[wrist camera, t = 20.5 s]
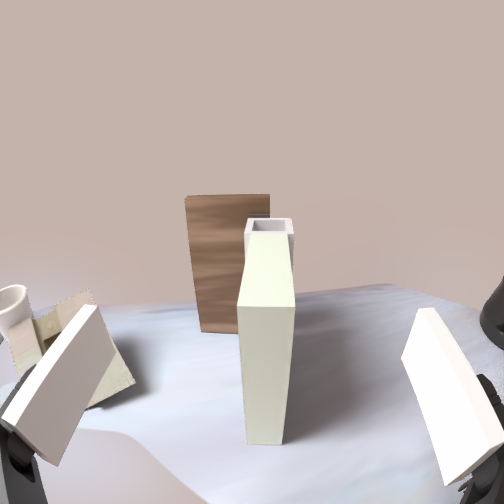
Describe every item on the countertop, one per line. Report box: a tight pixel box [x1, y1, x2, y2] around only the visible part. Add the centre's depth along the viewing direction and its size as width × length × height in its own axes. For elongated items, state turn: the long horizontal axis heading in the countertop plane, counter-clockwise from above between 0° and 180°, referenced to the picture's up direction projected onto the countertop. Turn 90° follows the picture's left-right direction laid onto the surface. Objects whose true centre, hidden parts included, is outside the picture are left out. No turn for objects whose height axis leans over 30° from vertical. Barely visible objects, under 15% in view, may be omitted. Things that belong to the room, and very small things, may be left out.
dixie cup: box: [0, 285, 34, 346], centre depth 33 cm, size 8×8×10 cm
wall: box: [7, 289, 136, 408], centre depth 31 cm, size 16×9×15 cm
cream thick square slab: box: [237, 218, 295, 445], centre depth 29 cm, size 17×5×18 cm, turn 176°
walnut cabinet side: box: [185, 194, 270, 334], centre depth 36 cm, size 6×11×20 cm, turn 86°
